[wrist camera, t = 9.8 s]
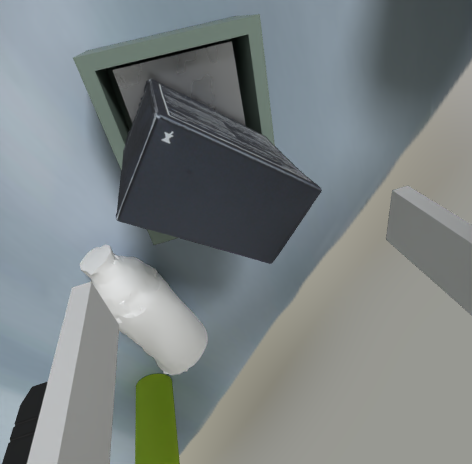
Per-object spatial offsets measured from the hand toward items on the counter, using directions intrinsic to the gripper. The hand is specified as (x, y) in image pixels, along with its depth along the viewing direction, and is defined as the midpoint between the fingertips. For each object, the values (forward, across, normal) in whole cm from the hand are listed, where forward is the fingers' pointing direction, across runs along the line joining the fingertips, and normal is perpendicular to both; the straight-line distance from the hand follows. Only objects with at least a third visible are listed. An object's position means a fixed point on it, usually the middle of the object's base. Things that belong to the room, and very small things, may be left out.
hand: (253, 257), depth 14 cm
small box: (+16, 0, 0) cm, 16 cm away
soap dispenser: (+22, -17, -40) cm, 49 cm away
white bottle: (+22, -12, -20) cm, 32 cm away
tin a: (+22, 0, +3) cm, 22 cm away
